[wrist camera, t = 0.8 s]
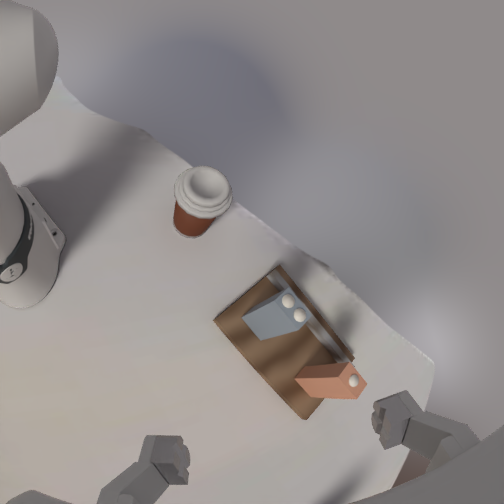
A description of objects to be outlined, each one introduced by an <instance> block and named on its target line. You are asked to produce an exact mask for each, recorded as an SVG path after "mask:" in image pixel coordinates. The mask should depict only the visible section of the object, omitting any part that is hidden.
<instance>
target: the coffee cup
mask: <svg viewBox="0 0 504 504" xmlns="http://www.w3.org/2000/svg"><path fill="white" fill-rule="evenodd" d="M174 196H175V198H176V204H175V211H174V217H173V225H174V227H175V229H176V231H177V232H178V233H179V234H180V235H182V236H184V237H187V238H197V237H199V236H201V235H202V234H203V233H204V232H205V231H206V230H207V228H208V227H209V226H210V225H211V223H212V222H213V221H214V220H215V218H216V217H218V216H221V215H222V214H223V213H224V212H225V211H226V210H228V208H229V207H230V204H231V201H232V198H233V197H232V188H231V186H230V185H229V182H228V180H227V179H226V177H225V176H224V175H223V174H222V173H221V172H220V171H219V170H216V169H214V168H212V167H209V166H198V167H194V168H191V169H187V170H186V171H185V172H183V173H182V174H180V175H179V177H178V179H177V181H176V183H175V185H174Z"/></svg>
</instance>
